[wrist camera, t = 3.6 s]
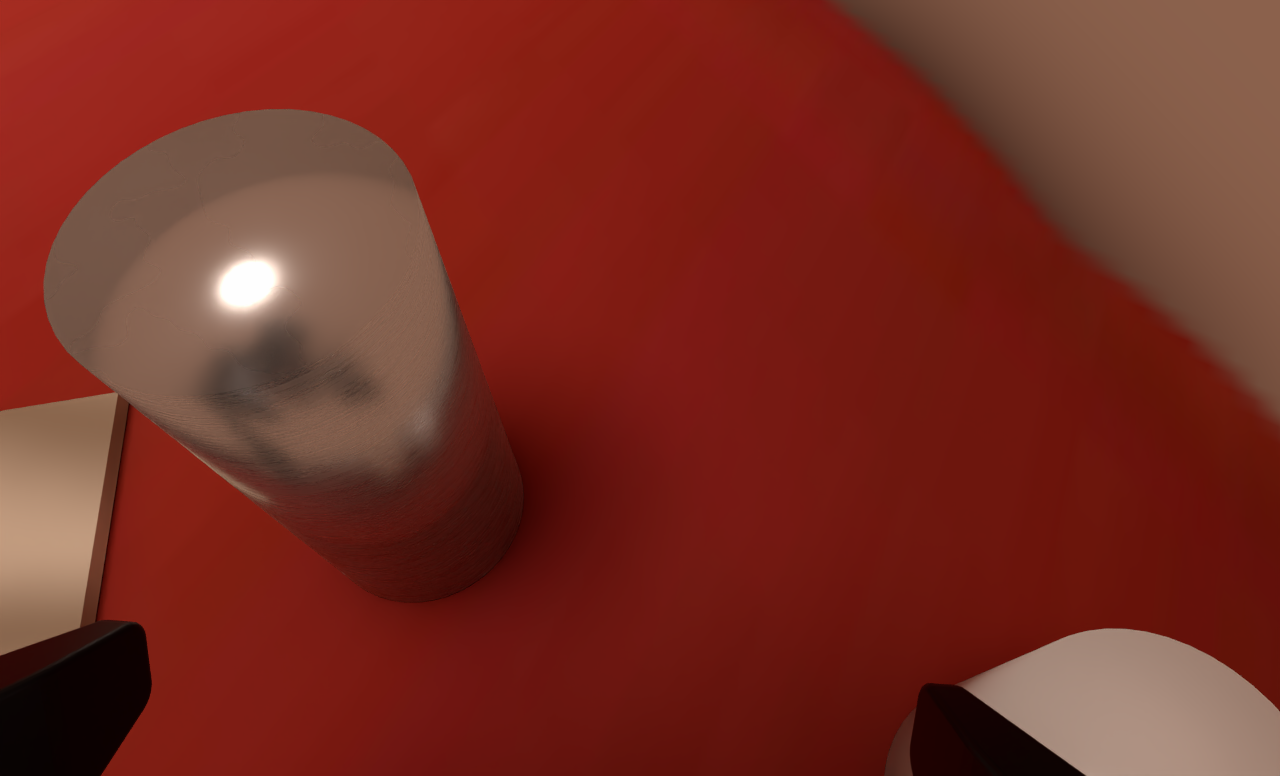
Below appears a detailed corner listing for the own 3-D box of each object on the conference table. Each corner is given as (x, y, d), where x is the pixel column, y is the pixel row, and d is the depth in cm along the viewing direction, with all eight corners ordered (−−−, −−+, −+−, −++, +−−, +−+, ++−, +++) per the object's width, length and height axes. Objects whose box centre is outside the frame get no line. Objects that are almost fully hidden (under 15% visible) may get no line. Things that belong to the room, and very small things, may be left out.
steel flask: (534, 581, 22) (429, 358, 12) (326, 620, 22) (8, 427, 11) (513, 402, 25) (411, 89, 14) (327, 434, 25) (76, 133, 14)
